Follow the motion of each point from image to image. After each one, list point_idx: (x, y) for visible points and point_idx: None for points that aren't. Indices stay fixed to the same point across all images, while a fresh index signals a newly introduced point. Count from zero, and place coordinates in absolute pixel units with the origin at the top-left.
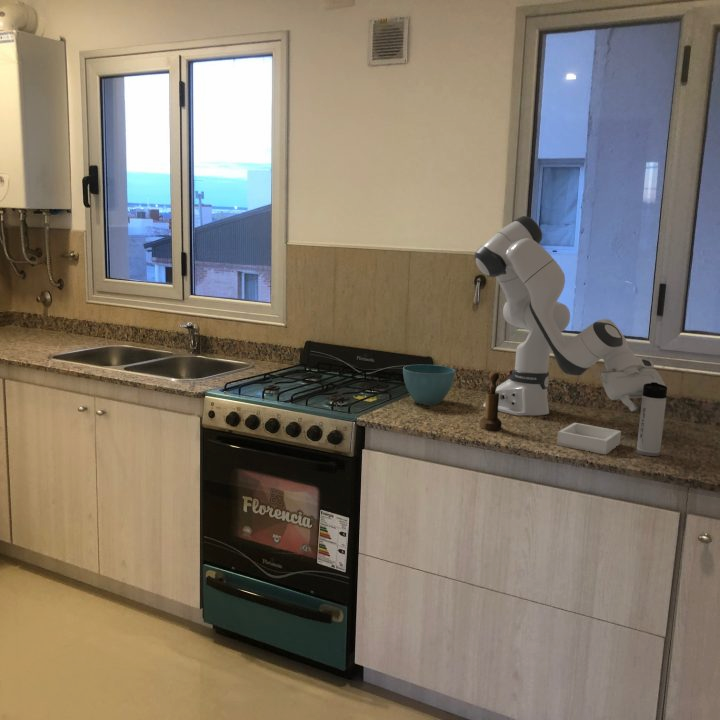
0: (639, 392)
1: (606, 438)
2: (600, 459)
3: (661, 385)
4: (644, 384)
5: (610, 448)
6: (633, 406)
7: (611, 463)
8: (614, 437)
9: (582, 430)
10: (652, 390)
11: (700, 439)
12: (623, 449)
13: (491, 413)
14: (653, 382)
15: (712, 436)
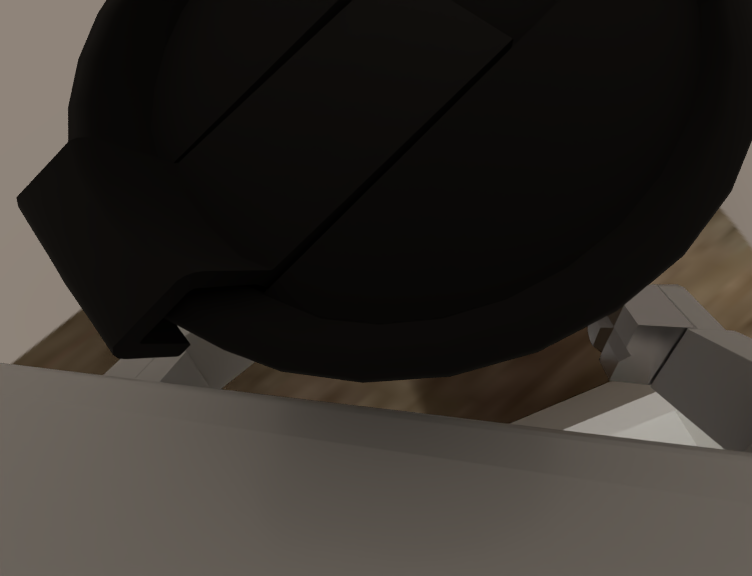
0: (513, 425)
1: (668, 408)
2: (744, 318)
3: (111, 86)
4: (530, 347)
5: (588, 395)
6: (694, 298)
7: (732, 253)
8: (553, 428)
9: None
10: None
11: (89, 348)
12: (488, 386)
13: None
14: (102, 262)
15: (25, 356)
